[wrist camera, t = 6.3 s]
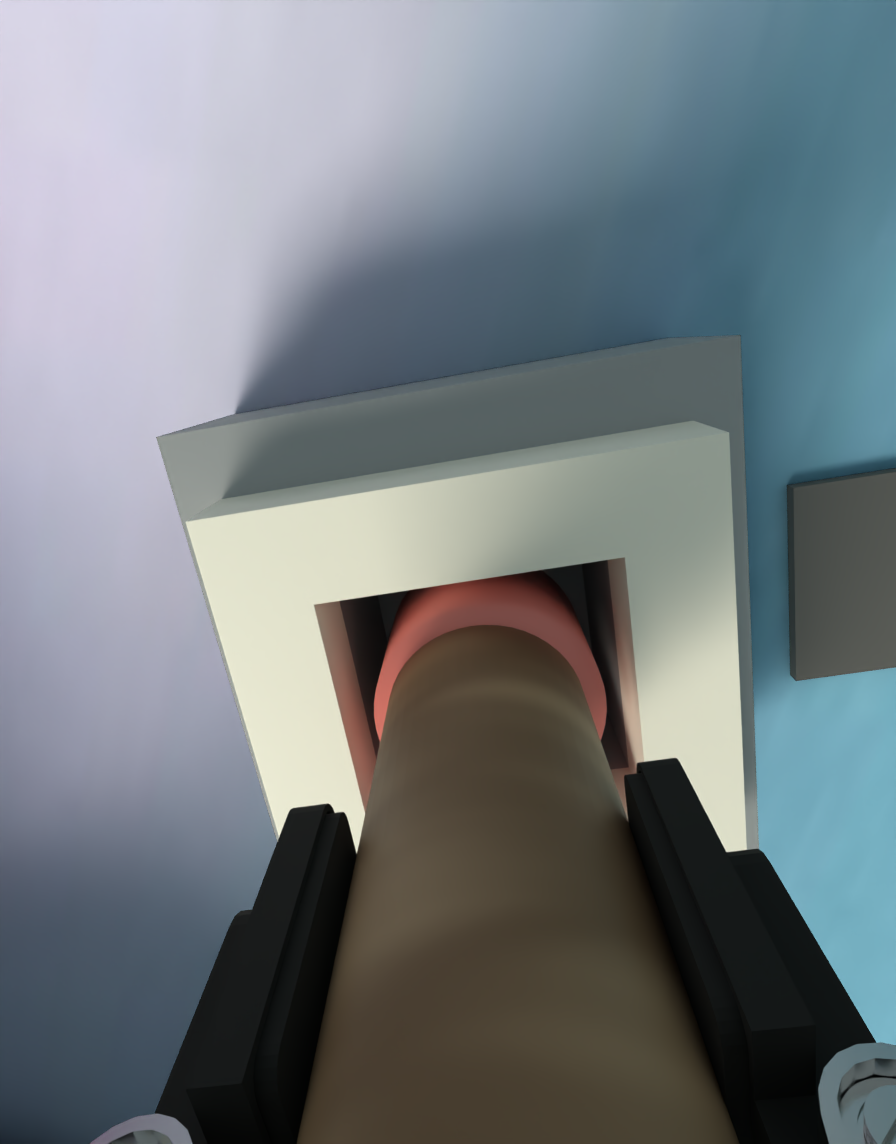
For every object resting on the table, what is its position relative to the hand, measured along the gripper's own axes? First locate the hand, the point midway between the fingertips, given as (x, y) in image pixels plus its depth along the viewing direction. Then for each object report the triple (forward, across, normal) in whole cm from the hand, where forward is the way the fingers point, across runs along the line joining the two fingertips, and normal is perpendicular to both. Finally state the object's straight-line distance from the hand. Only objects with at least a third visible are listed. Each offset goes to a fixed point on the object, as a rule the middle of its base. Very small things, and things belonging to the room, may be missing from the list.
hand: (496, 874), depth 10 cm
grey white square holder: (+11, 0, 0) cm, 11 cm away
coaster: (+11, -12, +1) cm, 17 cm away
